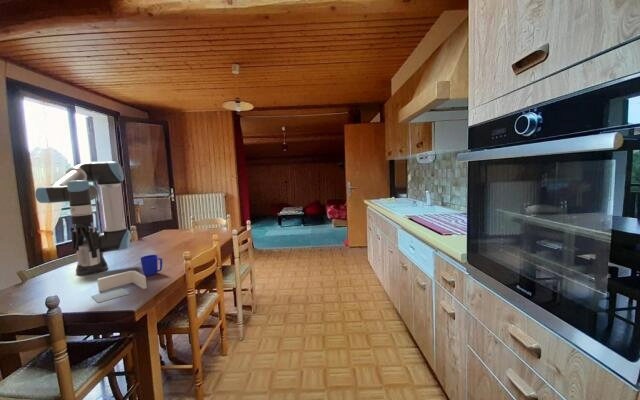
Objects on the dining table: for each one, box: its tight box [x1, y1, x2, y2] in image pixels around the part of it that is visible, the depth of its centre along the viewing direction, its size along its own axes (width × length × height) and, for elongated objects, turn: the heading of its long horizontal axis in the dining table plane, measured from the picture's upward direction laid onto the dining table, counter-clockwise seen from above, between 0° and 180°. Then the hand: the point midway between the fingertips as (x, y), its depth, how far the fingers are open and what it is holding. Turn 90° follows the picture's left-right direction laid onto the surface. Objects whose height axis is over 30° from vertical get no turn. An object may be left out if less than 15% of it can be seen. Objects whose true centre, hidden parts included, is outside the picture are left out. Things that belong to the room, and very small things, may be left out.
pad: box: [91, 287, 130, 304], centre depth 137 cm, size 12×12×1 cm
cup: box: [76, 244, 100, 266], centre depth 134 cm, size 7×10×9 cm
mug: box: [140, 254, 163, 277], centre depth 165 cm, size 8×12×10 cm
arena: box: [96, 269, 147, 292], centre depth 144 cm, size 17×16×6 cm
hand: (87, 264), depth 134 cm, fingers closed on cup, 7 cm apart
